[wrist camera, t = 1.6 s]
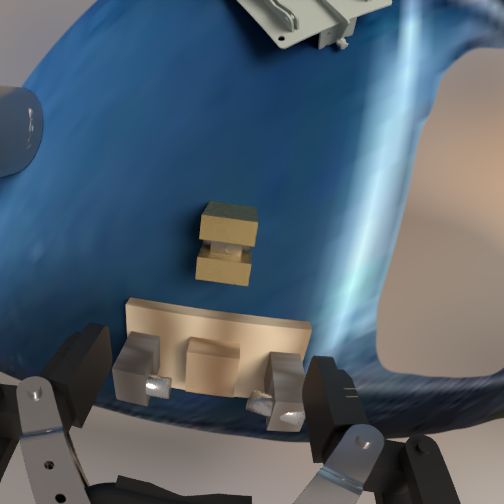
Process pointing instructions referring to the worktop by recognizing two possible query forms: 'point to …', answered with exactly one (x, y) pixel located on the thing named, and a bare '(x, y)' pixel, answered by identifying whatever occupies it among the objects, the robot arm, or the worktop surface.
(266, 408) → the shafts
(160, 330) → the coupling base
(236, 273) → the slotted brass block
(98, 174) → the worktop surface
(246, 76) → the worktop surface
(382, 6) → the metal bracket
